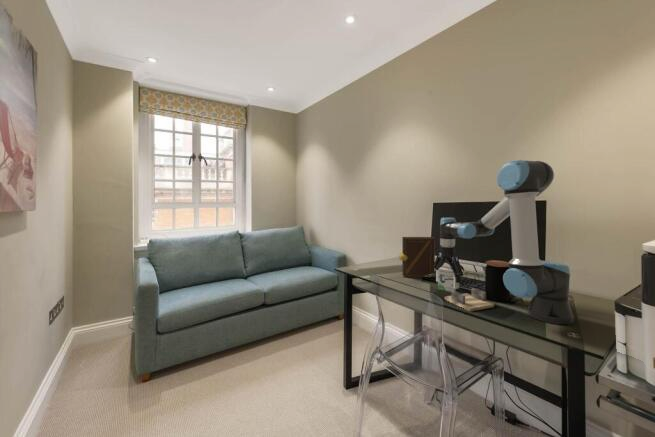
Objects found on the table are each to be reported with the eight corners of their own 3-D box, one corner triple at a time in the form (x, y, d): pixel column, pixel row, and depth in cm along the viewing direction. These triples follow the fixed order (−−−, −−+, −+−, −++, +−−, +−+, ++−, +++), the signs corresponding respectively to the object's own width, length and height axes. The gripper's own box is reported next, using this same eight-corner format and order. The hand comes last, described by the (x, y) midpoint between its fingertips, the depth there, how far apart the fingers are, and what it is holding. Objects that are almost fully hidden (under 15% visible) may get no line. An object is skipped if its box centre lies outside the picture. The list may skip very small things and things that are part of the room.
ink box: (437, 289, 158) (437, 268, 157) (440, 287, 161) (440, 266, 161) (454, 292, 152) (454, 270, 151) (456, 290, 156) (456, 268, 155)
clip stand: (494, 307, 131) (494, 295, 131) (469, 311, 127) (470, 299, 126) (466, 296, 146) (467, 285, 146) (444, 299, 142) (444, 288, 141)
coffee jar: (503, 295, 147) (503, 260, 146) (514, 302, 136) (515, 265, 135) (481, 294, 148) (481, 260, 147) (490, 302, 137) (491, 265, 136)
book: (432, 274, 187) (432, 236, 186) (435, 278, 179) (436, 238, 177) (397, 274, 190) (397, 236, 189) (399, 277, 182) (399, 238, 180)
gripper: (471, 249, 145) (470, 290, 146) (437, 242, 168) (437, 278, 170) (459, 250, 142) (458, 292, 144) (426, 243, 166) (426, 279, 167)
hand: (447, 284), depth 157 cm, fingers open, 13 cm apart
